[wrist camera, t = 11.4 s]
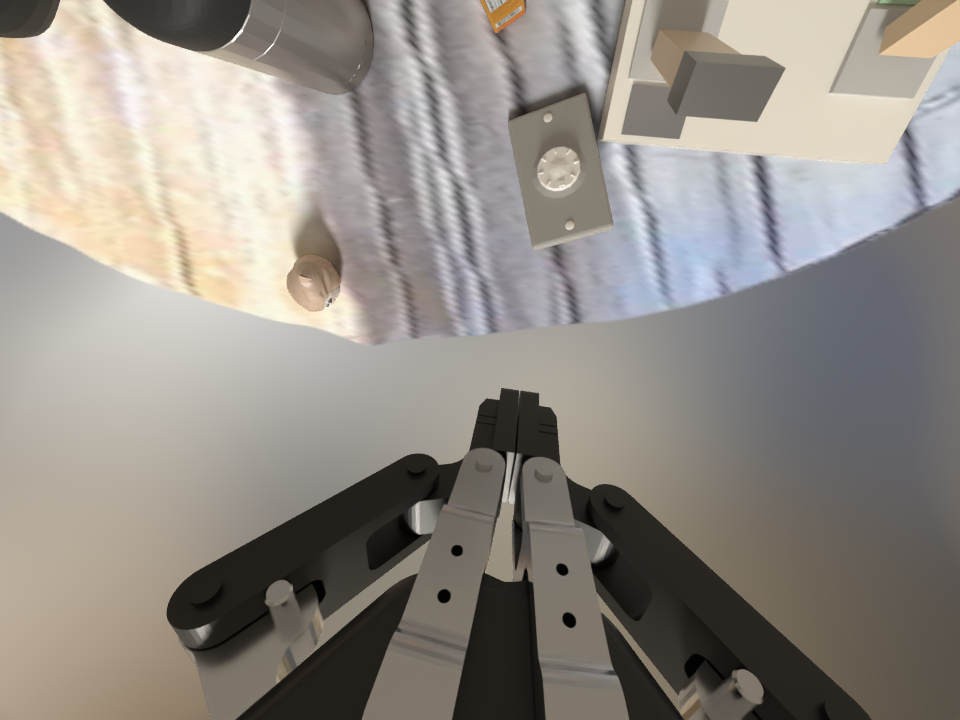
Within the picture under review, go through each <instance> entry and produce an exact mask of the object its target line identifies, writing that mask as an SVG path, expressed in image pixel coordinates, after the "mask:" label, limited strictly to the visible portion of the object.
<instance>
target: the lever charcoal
mask: <svg viewBox="0 0 960 720" xmlns="http://www.w3.org/2000/svg"><path fill="white" fill-rule="evenodd" d="M650 60H651V61H652V63H653V64H654V65H655V67H656V68H657V70H658V71H659V72H660V74H661V75H662V77H663V78H664V80H665V81H666V82H667V84H668V85H669V87H670V88H671V91H670V93H669V96H668V99H667V101H668V103H669V105H670V106H671V108H672V109H673V111H674V113H675V114H676V116H688V117H700V118H713V119H725V120H738V121H750V122H757V121H758V119H759V118H760V116H761V114H762V112H763V110H764V108H765V106H766V104H767V103H768V101H769V99H770V97H771V95H772V93H773V91H774V89H775V88H776V86H777V84H778V82H779V80H780V78H781V76H782V74H783V73H784V71H785V69H786V68H785V67H783V66H782V65H780V64H778V63H776V62H775V61H773V60H771V59H769V58H768V57H766V56H758V55H743V54H741V53H739V52H738V51H736V50H735V49H733V48H732V47H730V46H728V45H727V44H725V43H724V42H722V41H721V40H719V39H718V38H716V37H714V36H713V35H711V34H710V33H708V32H694V31H678V30H662V29H659V32H658V35H657V39H656V42H655V45H654V49H653V52H652V55H651V59H650Z"/></svg>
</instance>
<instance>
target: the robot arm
mask: <svg viewBox="0 0 960 720" xmlns="http://www.w3.org/2000/svg"><path fill="white" fill-rule="evenodd" d="M103 1H104V2H105V3H106V4H107V5H108V6H109V7H110V8H111V9H112V10H113V11H114V12H115V13H116V14H118V15H119V16H120V17H121V18H123V19H124V20H125V21H126V22H128V23H129V24H131V25H132V26H134V27H135V28H137V29H138V30H140V31H142V32H143V33H145V34H147V35H149V36H151V37H153V38H156V39H158V40H161V41H163V42H166V43H169V44H172V45H175V46H178V47H182V48H185V49H188V50H192V51H195V52H198V53H201V54H205V55H208V56H211V57H214V58H217V59H220V60H224V61H227V62H231V63H234V64H237V65H240V66H243V67H246V68H249V69H253V70H256V71H259V72H262V73H265V74H268V75H271V76H275V77H278V78H281V79H284V80H287V81H290V82H293V83H296V84H300V85H302V86H305V87H309V88H312V89H315V90H318V91H321V92H324V93H329V94H344V93H347V92H350V91H351V90H353V89H354V88H356V87H357V86H358V85H359V84H360V83H361V82H362V81H363V79H364V78H365V76H366V74H367V72H368V70H369V68H370V64H371V61H372V56H373V46H374V45H373V31H372V26H371V22H370V18H369V15H368V13H367V10H366V7H365V5H364V3H363V2H362V0H103ZM59 2H60V0H0V37H6V38H27V37H33V36H38V35H40V34H42V33H44V32H45V31H46V30H47V29H48V28H49V27H50V25H51V23H52V22H53V20H54V18H55V15H56V12H57V9H58V6H59ZM518 401H519V402H518ZM509 483H510V485H509ZM508 488H509V497H508V503H514V504H515V505H514V515H513V520H512V561H513V582H503V581H501V580H499V579H496V578H494V577H492V576H490V575H488V574H486V572H487V567H488V562H489V557H490V552H491V547H492V542H493V537H494V532H495V527H496V522H497V518H498V517H499V514H500V509H501V503H502V502H506V500H507V494H508ZM428 540H430V542H429V545H428V548H427V551H426V553H425V556H424V559H423V561H422V564H421V567H420V570H419V572H418V574H415V575H412V576H409V577H407V578H405V579H403V580H401V581H399V582H398V583H396V584H395V585H393V586H392V587H391V588H389V589H388V590H387V591H386V592H384V593H383V594H382V595H381V596H380V597H378V598H377V599H376V600H375V601H374V602H373V603H371V604H370V605H369V606H368V607H367V608H366V609H364V610H363V611H362V612H361V613H360V614H358V615H357V616H356V617H355V618H354V619H353V620H351V621H350V622H349V623H348V624H347V625H346V626H344V627H343V628H342V629H341V630H340V631H339V632H337V633H336V634H335V635H334V636H333V637H331V638H330V639H329V640H328V641H327V642H326V643H325V644H323V645H322V646H321V647H320V648H319V649H317V650H316V651H315V652H314V653H313V654H312V655H310V656H309V657H308V658H307V659H306V660H305V661H304V662H302V663H301V661H303V660H304V658H306V656H307V655H309V654H310V653H311V651H312V650H313V649H314V648H315V646H316V645H317V643H318V641H319V639H320V637H321V634H322V631H323V620H325V619H326V618H327V617H329V616H330V615H331V614H333V613H334V612H335V611H336V610H338V609H339V608H340V607H342V606H343V605H344V604H346V603H347V602H348V601H350V600H351V599H352V598H354V597H355V596H356V595H358V594H359V593H360V592H362V591H363V590H364V589H365V588H367V587H368V586H369V585H371V584H372V583H373V582H375V581H376V580H377V579H379V578H380V577H381V576H383V575H384V574H385V573H386V572H388V571H389V570H390V569H392V568H393V567H394V566H396V565H397V564H398V563H400V562H401V561H402V560H403V559H405V558H406V557H407V556H409V555H410V554H411V553H413V552H414V551H415V550H417V549H418V548H419V547H421V546H422V545H423V544H425V543H426V542H427V541H428ZM596 592H597V593H598V594H599V596H600V597H601V598H602V599H603V601H604V602H605V603H606V605H607V606H608V607H609V608H610V610H611V611H612V612H613V613H614V615H615V616H616V617H617V619H618V620H619V621H620V622H621V624H622V625H623V626H624V627H625V629H626V630H627V631H628V632H629V634H630V635H631V636H632V637H633V639H634V640H635V641H636V642H637V644H638V645H639V646H640V648H641V649H642V650H643V651H644V653H645V654H646V655H647V656H648V658H649V659H650V660H651V661H652V663H653V664H654V665H655V666H656V668H657V669H658V670H659V672H660V673H661V674H662V675H663V677H664V678H665V679H666V680H667V682H668V683H669V684H670V686H671V687H672V688H673V689H674V691H675V692H676V693H677V694H678V696H679V710H680V713H679V712H678V710H677V709H676V707H675V706H674V705H673V703H672V702H671V701H670V699H669V698H668V697H667V695H666V694H665V693H664V691H663V690H662V689H661V687H660V686H659V685H658V683H657V682H656V680H655V679H654V678H653V676H652V675H651V673H650V672H649V671H648V669H647V668H646V667H645V665H644V664H643V663H642V661H641V660H640V659H639V657H638V656H637V655H636V653H635V652H634V650H633V649H632V648H631V646H630V645H629V644H628V642H627V641H626V640H625V638H624V637H623V635H622V634H621V633H620V632H619V630H618V629H617V628H616V627H615V626H614V624H613V623H612V622H611V621H610V620H609V619H608V618H607V617H606V616H605V615H604V614H602V613H601V612H600V608H599V603H598V598H597V593H596ZM167 619H168V621H169V623H170V624H171V626H172V627H173V629H174V630H175V632H176V633H177V635H178V637H179V641H180V643H181V645H182V647H183V648H184V649H185V651H186V652H187V654H188V655H189V657H190V658H191V659H192V661H193V662H194V664H195V665H196V667H197V668H198V672H199V676H200V680H201V684H202V688H203V692H204V696H205V700H206V704H207V708H208V712H209V716H210V720H871V718H870V717H869V716H868V714H867V713H866V712H865V711H864V710H863V709H862V707H861V706H860V705H859V704H858V703H857V702H856V701H855V700H854V699H852V698H851V697H850V696H849V695H848V694H847V693H846V692H845V691H844V690H843V689H842V688H840V687H839V686H838V685H837V684H836V683H835V682H834V681H833V680H832V679H831V678H830V677H828V676H827V675H826V674H825V673H824V672H823V671H822V670H821V669H819V667H817V666H816V665H815V664H814V663H813V662H812V661H811V660H810V659H809V658H808V657H807V656H805V655H804V654H803V653H802V652H801V651H800V650H799V649H798V648H797V647H796V646H795V645H793V644H792V643H791V642H790V641H789V640H788V639H787V638H786V637H785V636H784V635H783V634H781V633H780V632H779V631H778V630H777V629H776V628H775V627H774V626H773V625H771V624H770V623H769V622H768V621H767V620H766V619H765V618H764V617H763V616H762V615H761V614H760V613H758V612H757V611H756V610H755V609H754V608H753V607H752V606H751V605H750V604H749V603H748V602H746V601H745V600H744V599H743V598H742V597H741V596H740V595H739V594H738V593H736V591H734V590H733V589H732V588H731V587H730V586H729V585H728V584H727V583H726V582H725V581H723V580H722V579H721V578H720V577H719V576H718V575H717V574H716V573H715V572H714V571H713V570H711V569H710V568H709V567H708V566H707V565H706V564H705V563H704V562H703V561H701V559H699V558H698V557H697V556H696V555H695V554H694V553H693V552H692V551H691V550H689V549H688V548H687V547H686V546H685V545H684V544H683V543H682V542H681V541H680V540H679V539H678V538H676V537H675V536H674V535H673V534H672V533H671V532H670V531H669V530H668V529H667V528H666V527H664V526H663V525H662V524H661V523H660V522H659V521H658V520H657V519H656V518H655V517H653V516H652V515H651V514H650V513H649V512H648V511H647V510H646V509H645V508H644V507H642V506H641V505H640V504H639V503H638V502H637V501H636V500H635V499H634V498H633V497H631V495H629V494H628V493H627V492H626V491H624V490H623V489H621V488H619V487H616V486H613V485H608V484H602V485H598V486H596V487H594V488H593V489H592V490H590V489H588V488H585V487H583V486H581V485H578V484H576V483H575V482H573V481H572V480H570V479H569V478H568V477H567V476H566V475H565V472H564V470H563V468H562V467H561V465H560V456H559V442H558V429H557V417H556V415H555V414H554V412H553V411H552V409H551V408H549V407H542V406H539V393H533V392H526V391H520V397H519V391H518V390H512V389H504V388H501V394H500V400H494V399H486V400H485V401H484V402H483V403H482V404H481V405H480V407H479V411H478V416H477V420H476V424H475V428H474V433H473V437H472V441H471V446H470V450H469V452H468V453H467V454H466V455H465V457H464V458H463V459H462V460H460V461H458V462H455V463H452V464H445V465H438V463H437V462H436V460H435V459H434V458H432V457H431V456H428V455H425V454H411V455H407V456H405V457H403V458H402V459H400V460H398V461H396V462H394V463H393V464H391V465H389V466H387V467H385V468H383V469H382V470H380V471H378V472H376V473H374V474H372V475H371V476H369V477H367V478H365V479H363V480H362V481H360V482H358V483H356V484H354V485H353V486H351V487H349V488H347V489H345V490H344V491H342V492H340V493H338V494H336V495H334V496H333V497H331V498H329V499H327V500H325V501H323V502H322V503H320V504H318V505H316V506H314V507H312V508H311V509H309V510H307V511H305V512H303V513H302V514H300V515H298V516H296V517H294V518H292V519H291V520H289V521H287V522H285V523H284V524H282V525H280V526H278V527H276V528H274V529H273V530H271V531H269V532H267V533H265V534H263V535H262V536H260V537H258V538H256V539H254V540H252V541H251V542H249V543H247V544H245V545H243V546H242V547H240V548H238V549H236V550H234V551H233V552H231V553H229V554H227V555H225V556H223V557H222V558H220V559H218V560H216V561H214V562H212V563H211V564H209V565H207V566H205V567H203V568H202V569H200V570H198V571H196V572H195V573H193V574H192V575H191V576H190V577H188V578H187V579H186V580H185V581H184V582H182V584H181V585H180V586H179V587H178V588H177V589H176V591H175V592H174V593H173V595H172V597H171V599H170V601H169V603H168V607H167ZM300 663H301V664H300ZM299 664H300V665H299ZM298 665H299V666H298Z"/></svg>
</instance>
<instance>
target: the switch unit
mask: <svg viewBox="0 0 960 720" xmlns="http://www.w3.org/2000/svg"><path fill="white" fill-rule="evenodd" d="M920 1H921V0H626V1H625V6H624V11H623V16H622V21H621V26H620V30H619V35H618V40H617V45H616V50H615V55H614V60H613V64H612V69H611V74H610V79H609V84H608V89H607V94H606V98H605V103H604V108H603V113H602V118H601V123H600V128H599V132H598V137H597V141H598V142H609V143H621V144H632V145H644V146H655V147H667V148H678V149H690V150H701V151H713V152H724V153H735V154H747V155H758V156H770V157H781V158H793V159H804V160H816V161H827V162H839V163H850V164H886V163H887V161H888V159H889V157H890V155H891V154H892V152H893V150H894V148H895V146H896V145H897V143H898V141H899V139H900V138H901V136H902V134H903V132H904V130H905V129H906V127H907V125H908V123H909V121H910V120H911V118H912V116H913V114H914V113H915V111H916V109H917V107H918V105H919V104H920V102H921V100H922V98H923V96H924V95H925V93H926V91H927V89H928V88H929V86H930V84H931V82H932V80H933V79H934V77H935V75H936V73H937V72H938V70H939V68H940V66H941V64H942V63H943V61H944V59H945V57H946V55H947V54H948V52H949V50H950V48H951V47H952V46H951V47H949V48H947V49H946V50H944V51H942V52H941V53H939V54H937V55H936V56H934V57H932V58H919V57H904V56H888V55H878V54H879V50H880V46H881V42H882V39H883V35H884V31H885V28H886V27H887V26H888V25H889V24H891V23H892V22H893V21H895V20H896V19H897V18H899V17H900V16H901V15H903V14H904V13H905V12H907V11H908V10H909V9H911V8H912V7H913V6H915V5H916V4H917V3H919V2H920ZM659 29H662V30H678V31H694V32H708V33H710V34H711V35H713V36H714V37H716V38H718V39H719V40H721V41H722V42H724V43H725V44H727V45H728V46H730V47H732V48H733V49H735V50H736V51H738V52H739V53H741V54H743V55H758V56H766V57H768V58H769V59H771V60H773V61H775V62H776V63H778V64H780V65H782V66H783V67H785V68H786V69H785V71H784V73H783V74H782V76H781V78H780V80H779V82H778V84H777V86H776V88H775V89H774V91H773V93H772V95H771V97H770V99H769V101H768V103H767V104H766V106H765V108H764V110H763V112H762V114H761V116H760V118H759V119H758V121H757V122H750V121H738V120H725V119H713V118H700V117H688V116H676V114H675V113H674V111H673V109H672V108H671V106H670V105H669V103H668V101H667V99H668V96H669V93H670V91H671V88H670V87H669V85H668V84H667V82H666V81H665V80H664V78H663V77H662V75H661V74H660V72H659V71H658V70H657V68H656V67H655V65H654V64H653V63H652V61H651V60H650V59H651V55H652V52H653V49H654V45H655V42H656V39H657V35H658V32H659Z"/></svg>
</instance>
